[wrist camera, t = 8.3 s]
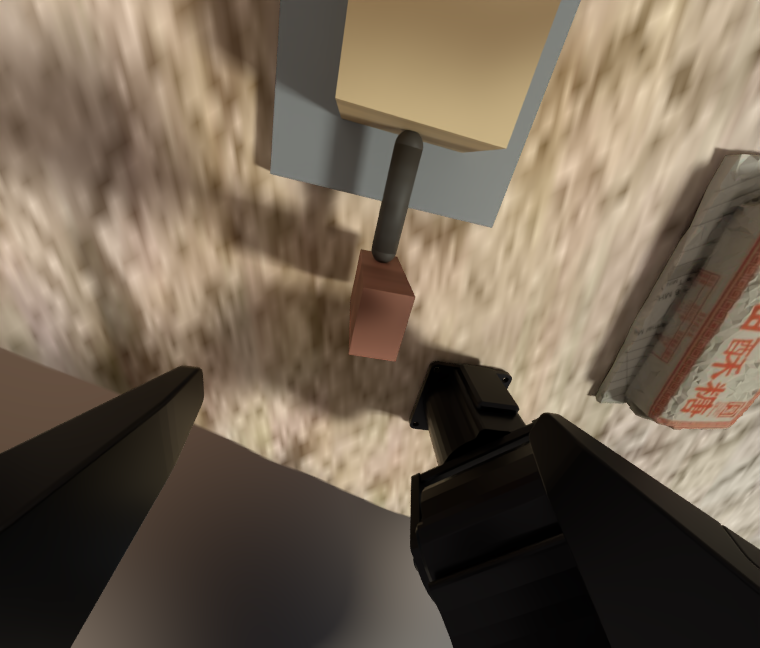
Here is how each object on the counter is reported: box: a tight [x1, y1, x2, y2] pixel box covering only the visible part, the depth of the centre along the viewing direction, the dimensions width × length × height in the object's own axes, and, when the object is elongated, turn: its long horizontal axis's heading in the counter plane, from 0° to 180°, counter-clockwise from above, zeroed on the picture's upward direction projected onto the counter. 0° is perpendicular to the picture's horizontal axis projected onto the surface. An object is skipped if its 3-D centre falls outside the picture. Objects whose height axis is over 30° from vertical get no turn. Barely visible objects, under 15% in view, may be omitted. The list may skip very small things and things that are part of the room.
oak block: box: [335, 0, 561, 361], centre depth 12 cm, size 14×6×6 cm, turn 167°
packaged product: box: [596, 154, 760, 430], centre depth 20 cm, size 18×5×10 cm
